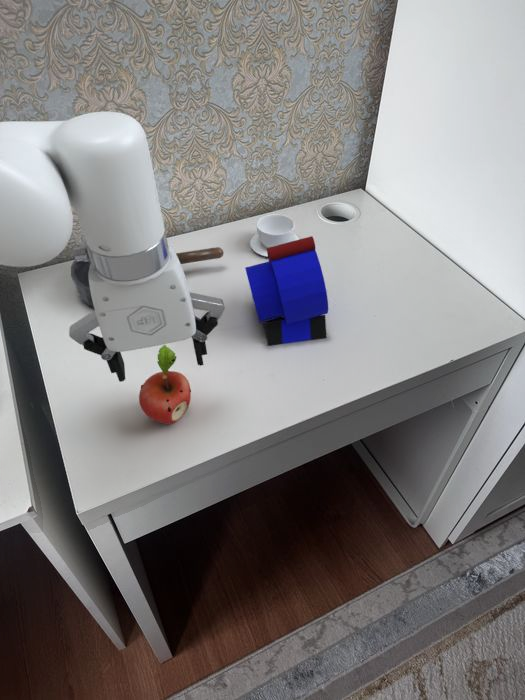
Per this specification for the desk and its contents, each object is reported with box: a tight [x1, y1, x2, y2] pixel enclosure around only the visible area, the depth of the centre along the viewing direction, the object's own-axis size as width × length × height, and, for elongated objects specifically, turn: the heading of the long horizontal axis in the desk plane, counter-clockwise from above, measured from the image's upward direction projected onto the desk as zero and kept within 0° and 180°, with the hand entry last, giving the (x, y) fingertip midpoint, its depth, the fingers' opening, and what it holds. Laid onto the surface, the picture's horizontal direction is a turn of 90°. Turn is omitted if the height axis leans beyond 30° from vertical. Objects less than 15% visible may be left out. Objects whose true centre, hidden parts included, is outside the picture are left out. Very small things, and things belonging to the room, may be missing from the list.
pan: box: [70, 259, 94, 308], centre depth 85 cm, size 16×16×4 cm
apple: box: [138, 344, 192, 425], centre depth 63 cm, size 8×7×10 cm
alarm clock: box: [244, 235, 329, 347], centre depth 75 cm, size 12×12×15 cm
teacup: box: [249, 213, 300, 258], centre depth 93 cm, size 10×10×5 cm
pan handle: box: [175, 246, 224, 265], centre depth 86 cm, size 12×2×2 cm, turn 104°
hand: (161, 365), depth 60 cm, fingers open, 9 cm apart
